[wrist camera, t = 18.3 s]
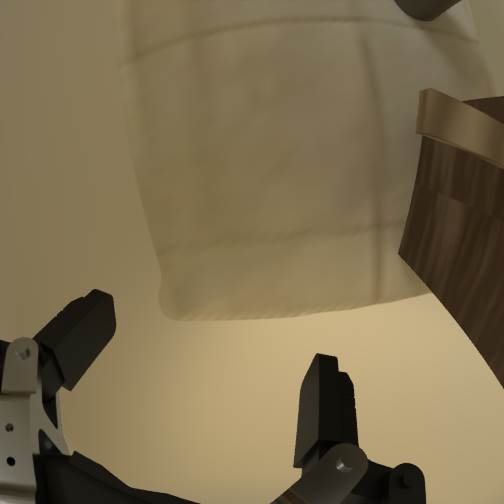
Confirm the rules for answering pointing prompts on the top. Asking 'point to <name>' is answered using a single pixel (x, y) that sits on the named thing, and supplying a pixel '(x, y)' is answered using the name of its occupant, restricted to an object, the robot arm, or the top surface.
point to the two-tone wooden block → (462, 237)
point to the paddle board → (460, 126)
